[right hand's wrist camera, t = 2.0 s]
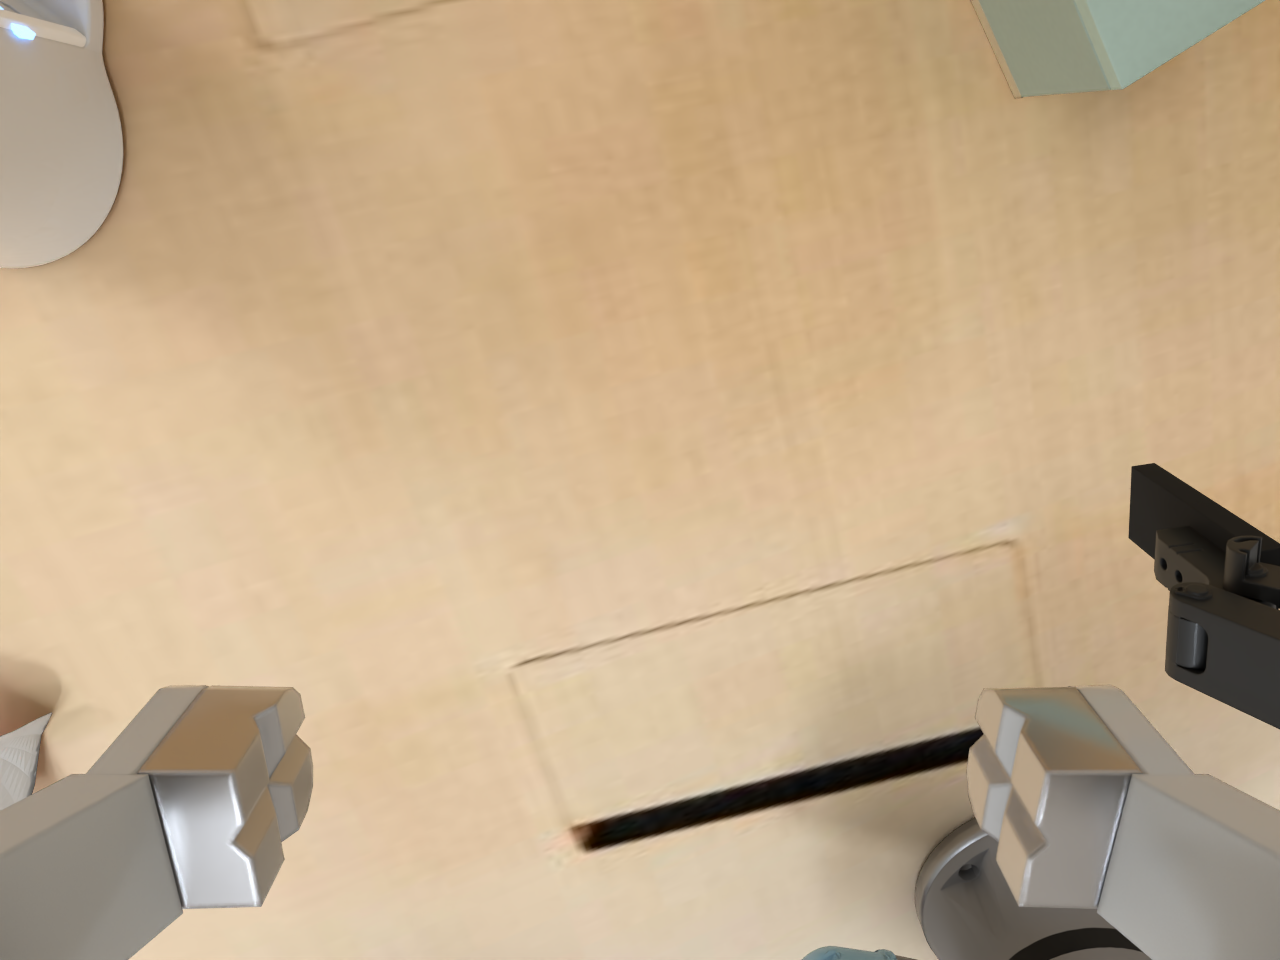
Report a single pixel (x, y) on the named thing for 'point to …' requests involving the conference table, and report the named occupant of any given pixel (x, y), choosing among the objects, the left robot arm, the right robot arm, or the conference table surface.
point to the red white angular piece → (20, 761)
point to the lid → (1151, 31)
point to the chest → (1041, 46)
